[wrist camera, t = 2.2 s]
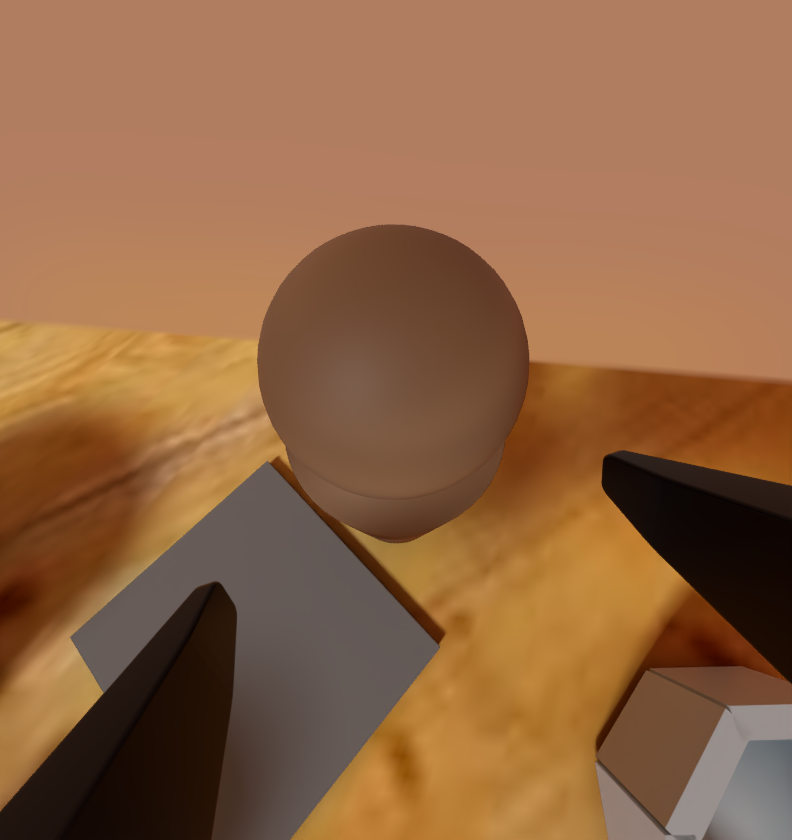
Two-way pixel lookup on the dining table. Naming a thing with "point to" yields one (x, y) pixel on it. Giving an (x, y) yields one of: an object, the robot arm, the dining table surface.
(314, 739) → the mat
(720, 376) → the dining table surface
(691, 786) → the bowl
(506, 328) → the pepper mill
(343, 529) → the dining table surface
